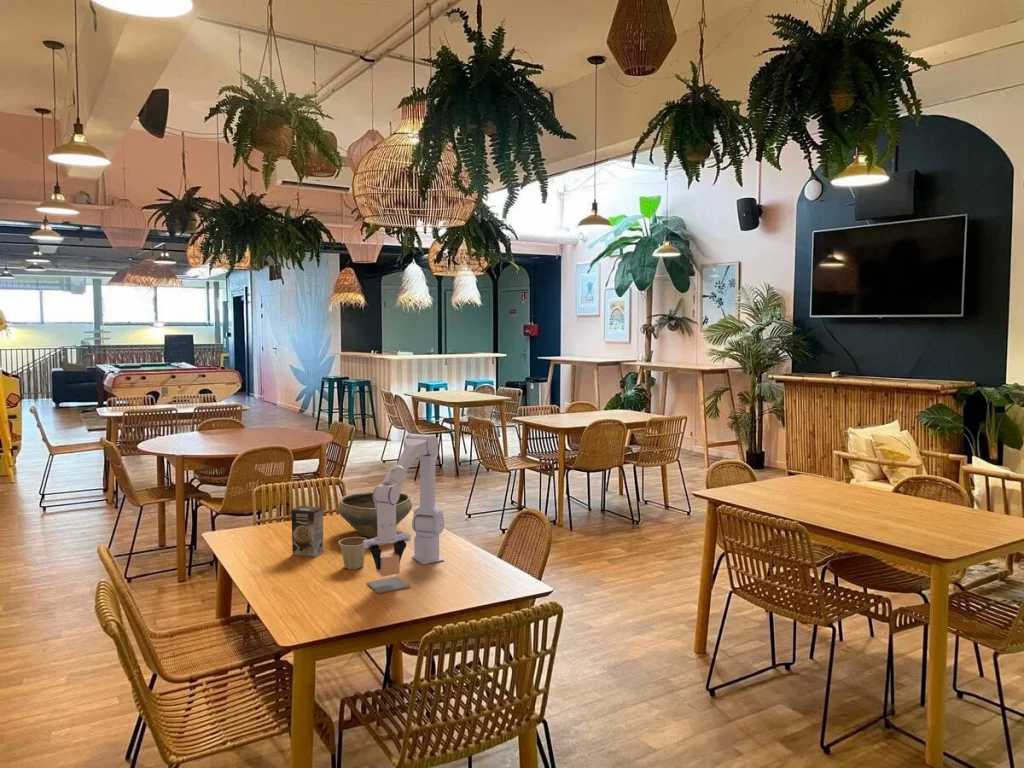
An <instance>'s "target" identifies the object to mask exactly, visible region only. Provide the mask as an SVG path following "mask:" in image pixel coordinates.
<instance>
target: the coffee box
mask: <svg viewBox="0 0 1024 768" xmlns="http://www.w3.org/2000/svg"><path fill="white" fill-rule="evenodd" d="M290 510H291V544H292V545H291V547H292V550H291V551H292V552H291V553H292V555H293V556H302V557H311V558H312V557H314V558H316V557H317V556H319V555H321V554H323V553H324V508H323V507H316V506H306V505H301V506H298V507H297V506H296V507H294V508H292V509H290Z"/></svg>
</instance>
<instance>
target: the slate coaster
mask: <svg viewBox="0 0 1024 768" xmlns="http://www.w3.org/2000/svg"><path fill="white" fill-rule="evenodd" d="M366 585H367V586H368V587H369V588H371V589H372V590H373V591H374V592H375V591H376V592H377V593H376V594H377V595H381V593H383V594H386V593H387V594H388V593H391V592H396V590H397V591H401V589H402V590H406V588H407V589H410V585H409V584H408V583H407V582H405V581H404V580H403V579H401V577H399V576H393V577H386V578H381V579H376V580H372V581H367V582H366Z"/></svg>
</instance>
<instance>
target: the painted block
mask: <svg viewBox="0 0 1024 768" xmlns="http://www.w3.org/2000/svg"><path fill="white" fill-rule="evenodd" d="M380 563H381V568H380V570H378V569H376V568H375V571H376V572H377V574H379V575H380V576H381V577H383V578H384V577H386V576H387V577H388V576H392V575H398V574H399V575H400V574H401V573H400V571H401V568H400V567H401V566H400V565H401V562H400V563H399V555H398V554H396V553H395V552H394V550H391V551H383V552H381V557H380Z"/></svg>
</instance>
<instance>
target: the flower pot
mask: <svg viewBox="0 0 1024 768" xmlns="http://www.w3.org/2000/svg"><path fill="white" fill-rule="evenodd" d="M364 540H368V539H367V538H366V537H364V536H363V537H362V536H353V537H352V536H351V537H345V538H342V539H340V540H339V541H338V545H339V549H340V550H341V554H342V560H343V567H344V568H345V569H348V570H358V569H360V568H363V567H364V564H365V556H366V555H365V553H366V548H364V547H363V541H364Z"/></svg>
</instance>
